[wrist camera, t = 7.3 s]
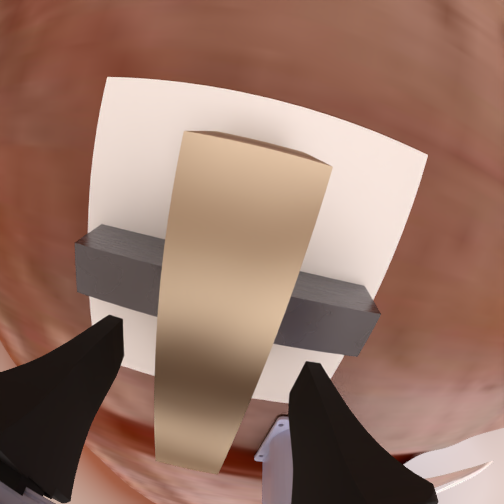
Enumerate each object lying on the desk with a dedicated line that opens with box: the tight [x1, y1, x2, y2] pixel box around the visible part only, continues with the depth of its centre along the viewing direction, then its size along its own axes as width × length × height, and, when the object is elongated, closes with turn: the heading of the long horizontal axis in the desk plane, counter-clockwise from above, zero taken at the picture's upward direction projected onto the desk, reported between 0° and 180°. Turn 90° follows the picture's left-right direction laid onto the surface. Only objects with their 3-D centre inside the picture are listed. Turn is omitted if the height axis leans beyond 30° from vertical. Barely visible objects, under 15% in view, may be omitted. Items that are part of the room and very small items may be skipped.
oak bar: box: [154, 131, 333, 474], centre depth 12 cm, size 16×4×5 cm, turn 166°
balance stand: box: [75, 77, 428, 403], centre depth 16 cm, size 20×18×4 cm
